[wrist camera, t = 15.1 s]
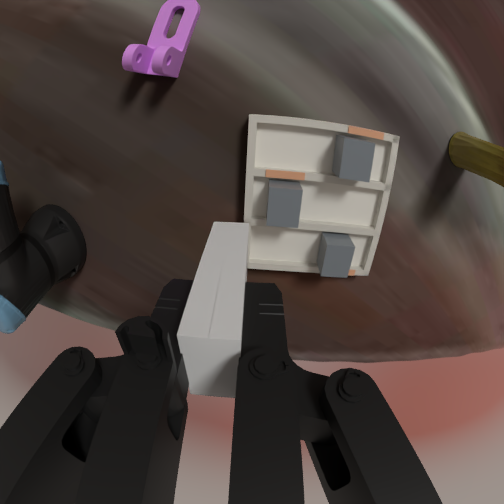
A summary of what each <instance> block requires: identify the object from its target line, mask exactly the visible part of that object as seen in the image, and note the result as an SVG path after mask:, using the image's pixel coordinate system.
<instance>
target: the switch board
mask: <svg viewBox="0 0 504 504" xmlns="http://www.w3.org/2000/svg"><path fill="white" fill-rule="evenodd" d="M336 135H343V136H348V137H354V138H359V139H365V140H367V141H370V142H373V143H376V144H375V151H374V157H373V164H372V170H371V176H370V181H369V182H363V181H356V180H349V179H342V178H338V177H337V176H336V175H335V174H334V173H333V172H332V165H333V157H334V149H335V141H336ZM398 145H399V136H395V135H392V134H387V133H383V132H379V131H374V130H370V129H365V128H360V127H355V126H350V125H344V124H338V123H332V122H325V121H318V120H311V119H303V118H294V117H284V116H272V115H257V114H249V126H248V146H247V165H246V186H245V208H244V223H249V234H248V258H247V268H250V269H264V270H279V271H294V272H310V273H320V272H319V268H318V265H317V256H318V251H319V246H320V241H321V235H322V232H331V233H342V234H348V235H349V237H350V238H351V240H352V242H353V244H354V245H355V251H354V255H353V258H352V262H351V266H350V270H349V273H348V275H349V276H354V275H362V276H368V274H369V270H370V267H371V264H372V261H373V257H374V254H375V250H376V247H377V243H378V240H379V236H380V232H381V228H382V224H383V220H384V216H385V212H386V208H387V203H388V199H389V194H390V190H391V185H392V180H393V174H394V169H395V163H396V157H397V151H398ZM269 179H274V180H286V181H297V182H300V185H301V187H302V189H303V194H302V202H301V210H300V217H299V225H298V228H289V227H276V226H266V213H267V200H268V187H269Z"/></svg>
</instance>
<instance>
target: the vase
mask: <svg viewBox="0 0 504 504" xmlns="http://www.w3.org/2000/svg"><path fill="white" fill-rule="evenodd" d="M449 155H450V158H451V161H452V162H453V164H454V165H455V166H457V167H459V168H463V169H465V170H468V171H470V172H473V173H475V174H478V175H480V176H482V177H485V178H487V179H489V180H492V181H493V182H495V183H497V184H499V185H501V186H503V187H504V148H503V147H501V146H498V145H495V144H492V143H489V142H487V141H484V140H481V139H478V138H476V137H473V136H470V135H468V134H466V133H464V132H458V133H456V134H454V135H453V136H452V138H451V140H450V143H449Z"/></svg>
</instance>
